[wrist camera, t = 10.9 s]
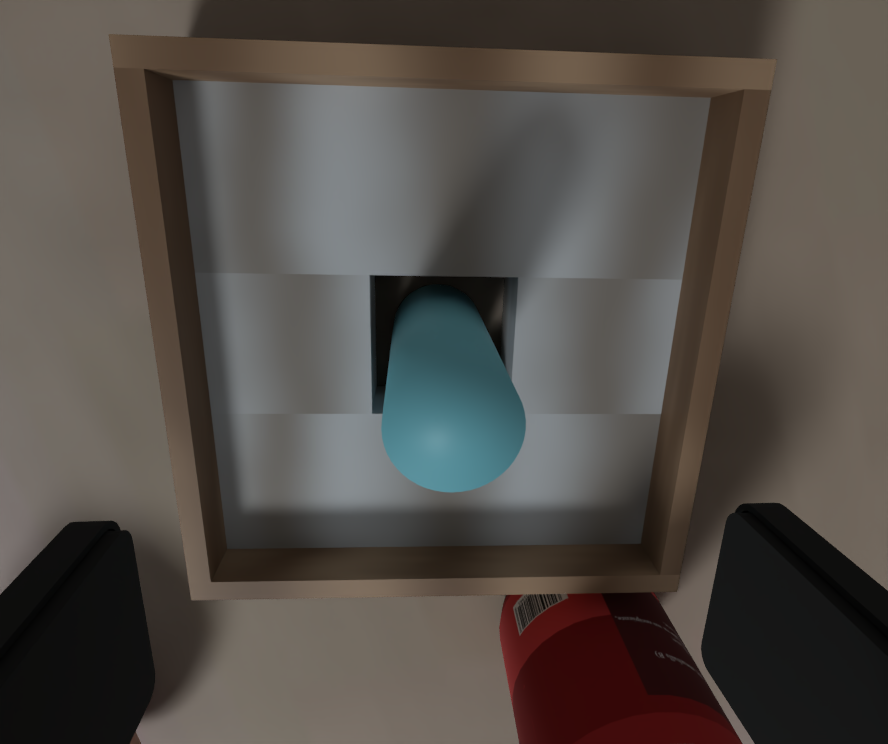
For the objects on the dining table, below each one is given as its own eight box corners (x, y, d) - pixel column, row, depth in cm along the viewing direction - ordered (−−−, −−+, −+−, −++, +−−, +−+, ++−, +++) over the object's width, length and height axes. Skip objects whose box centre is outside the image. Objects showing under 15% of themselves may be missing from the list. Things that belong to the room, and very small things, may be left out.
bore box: (231, 523, 26) (191, 600, 21) (179, 67, 20) (108, 34, 15) (631, 519, 27) (677, 591, 23) (695, 84, 21) (776, 58, 16)
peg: (393, 283, 23) (380, 359, 14) (482, 284, 23) (531, 360, 14) (393, 368, 24) (382, 492, 15) (478, 369, 24) (521, 491, 15)
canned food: (487, 668, 30) (527, 932, 19) (508, 536, 27) (568, 760, 17) (629, 673, 30) (742, 932, 20) (663, 545, 28) (813, 766, 17)
